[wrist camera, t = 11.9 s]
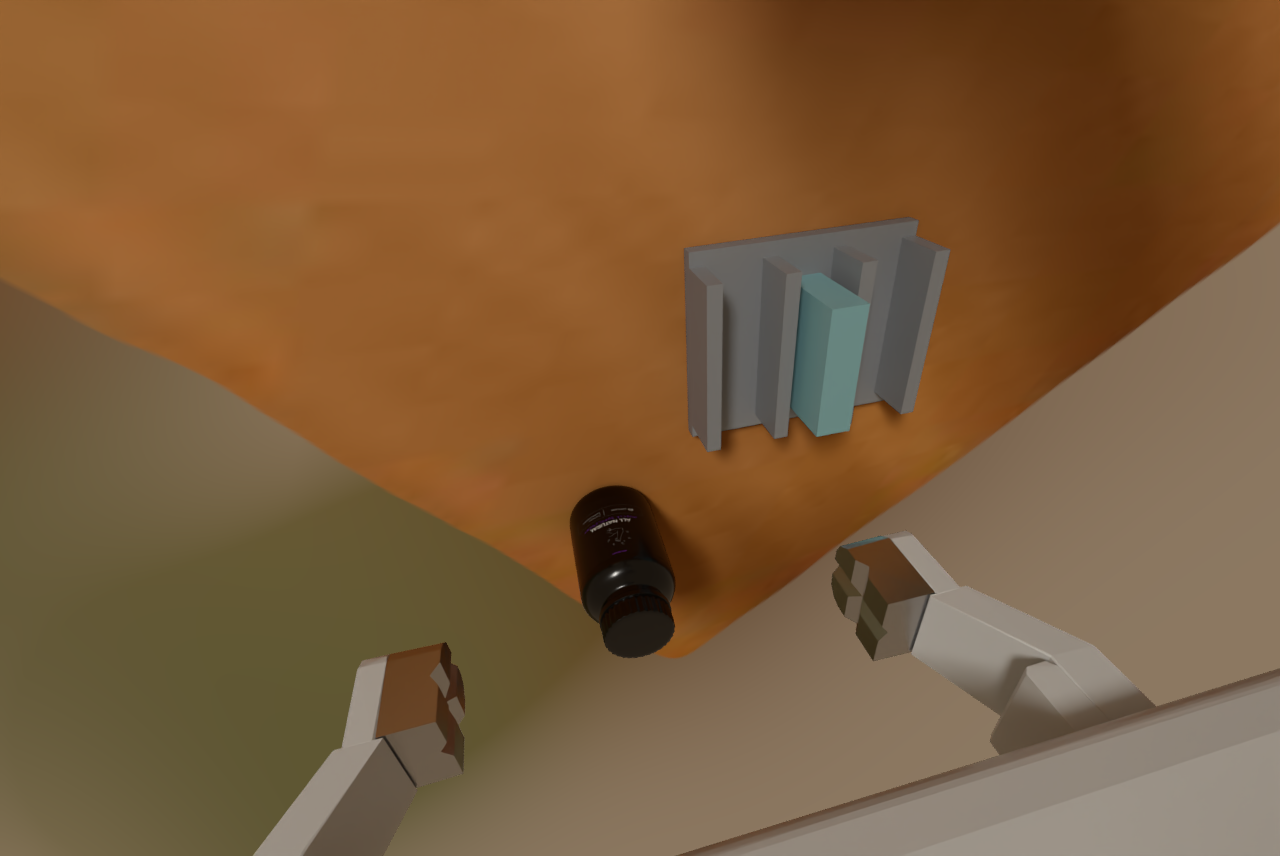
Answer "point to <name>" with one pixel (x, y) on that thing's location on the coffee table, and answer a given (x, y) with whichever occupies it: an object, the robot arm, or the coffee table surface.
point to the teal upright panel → (827, 354)
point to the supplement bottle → (623, 570)
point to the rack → (768, 316)
